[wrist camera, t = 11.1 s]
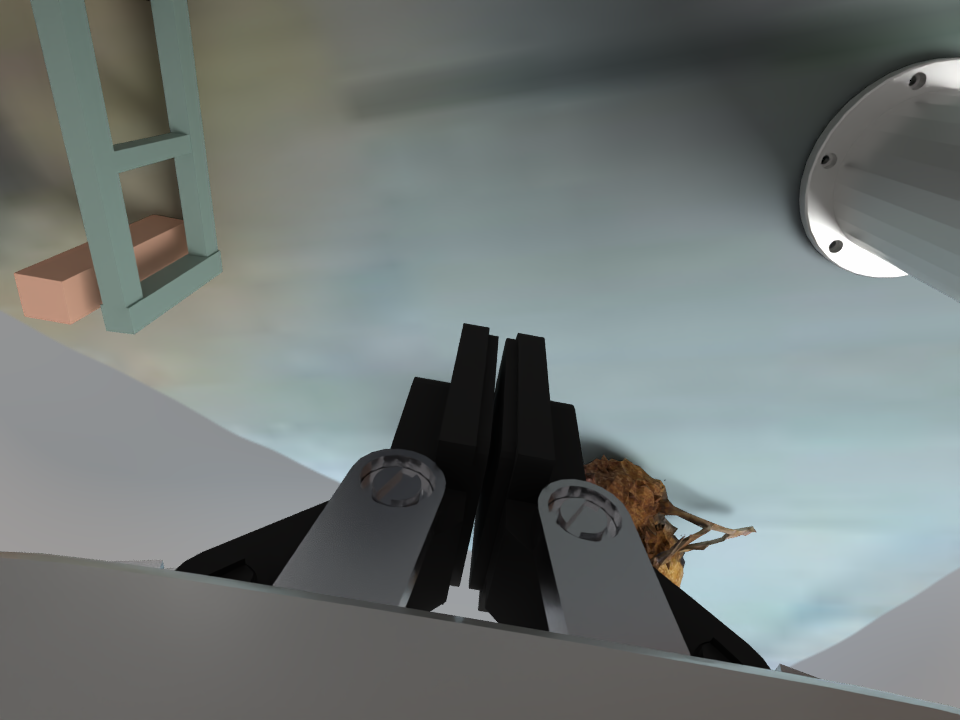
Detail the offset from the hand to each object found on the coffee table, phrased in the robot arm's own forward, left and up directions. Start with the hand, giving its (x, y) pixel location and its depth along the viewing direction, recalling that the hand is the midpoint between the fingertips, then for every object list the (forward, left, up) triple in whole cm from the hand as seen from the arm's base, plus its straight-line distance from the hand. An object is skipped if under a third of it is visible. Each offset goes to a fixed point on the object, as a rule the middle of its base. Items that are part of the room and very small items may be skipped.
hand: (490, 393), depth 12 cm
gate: (+20, +1, -26) cm, 33 cm away
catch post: (+22, +9, -27) cm, 36 cm away
